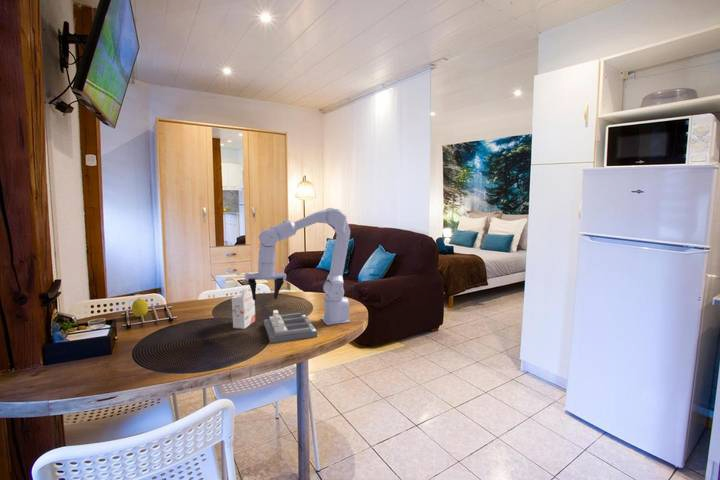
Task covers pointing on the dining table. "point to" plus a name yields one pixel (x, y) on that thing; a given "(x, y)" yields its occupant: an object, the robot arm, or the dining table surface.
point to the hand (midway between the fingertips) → (264, 298)
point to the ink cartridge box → (243, 309)
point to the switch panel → (291, 328)
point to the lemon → (139, 307)
